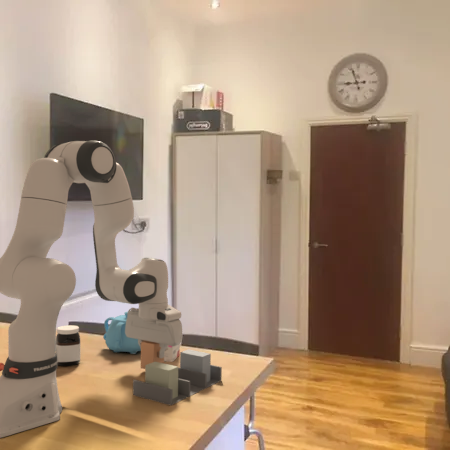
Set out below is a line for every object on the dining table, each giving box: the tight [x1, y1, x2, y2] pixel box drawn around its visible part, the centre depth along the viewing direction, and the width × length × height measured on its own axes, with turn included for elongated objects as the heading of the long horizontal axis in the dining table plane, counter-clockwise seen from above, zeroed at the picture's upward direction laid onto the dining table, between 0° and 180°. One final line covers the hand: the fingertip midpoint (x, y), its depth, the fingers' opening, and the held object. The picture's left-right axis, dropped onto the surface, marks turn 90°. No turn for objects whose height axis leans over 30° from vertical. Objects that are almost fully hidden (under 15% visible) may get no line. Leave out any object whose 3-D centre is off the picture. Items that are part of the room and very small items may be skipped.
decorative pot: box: [103, 311, 141, 355], centre depth 192 cm, size 16×16×14 cm
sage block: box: [144, 362, 179, 399], centre depth 145 cm, size 4×8×8 cm, turn 57°
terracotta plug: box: [140, 341, 165, 370], centre depth 165 cm, size 5×5×8 cm
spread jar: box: [55, 324, 81, 367], centre depth 176 cm, size 12×11×12 cm
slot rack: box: [132, 364, 223, 406], centre depth 151 cm, size 23×13×5 cm, turn 147°
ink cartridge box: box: [164, 343, 181, 363], centre depth 180 cm, size 9×5×15 cm, turn 168°
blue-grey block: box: [179, 348, 212, 382], centre depth 157 cm, size 4×8×8 cm, turn 57°
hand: (152, 355), depth 165 cm, fingers closed on terracotta plug, 5 cm apart
